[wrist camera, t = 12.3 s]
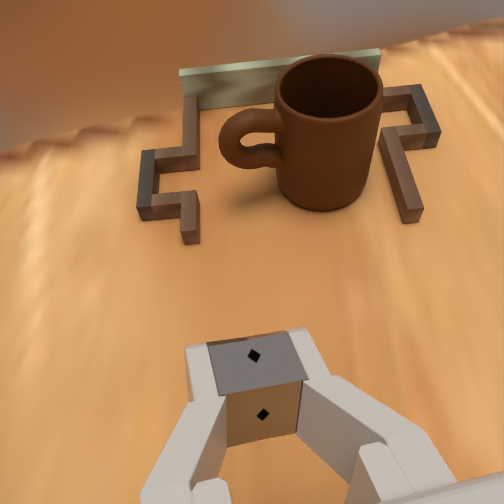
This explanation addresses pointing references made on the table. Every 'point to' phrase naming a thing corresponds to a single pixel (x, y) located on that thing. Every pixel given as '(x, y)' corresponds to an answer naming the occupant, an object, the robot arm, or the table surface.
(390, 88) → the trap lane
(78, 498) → the table surface
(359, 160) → the mug
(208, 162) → the table surface
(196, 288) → the table surface
